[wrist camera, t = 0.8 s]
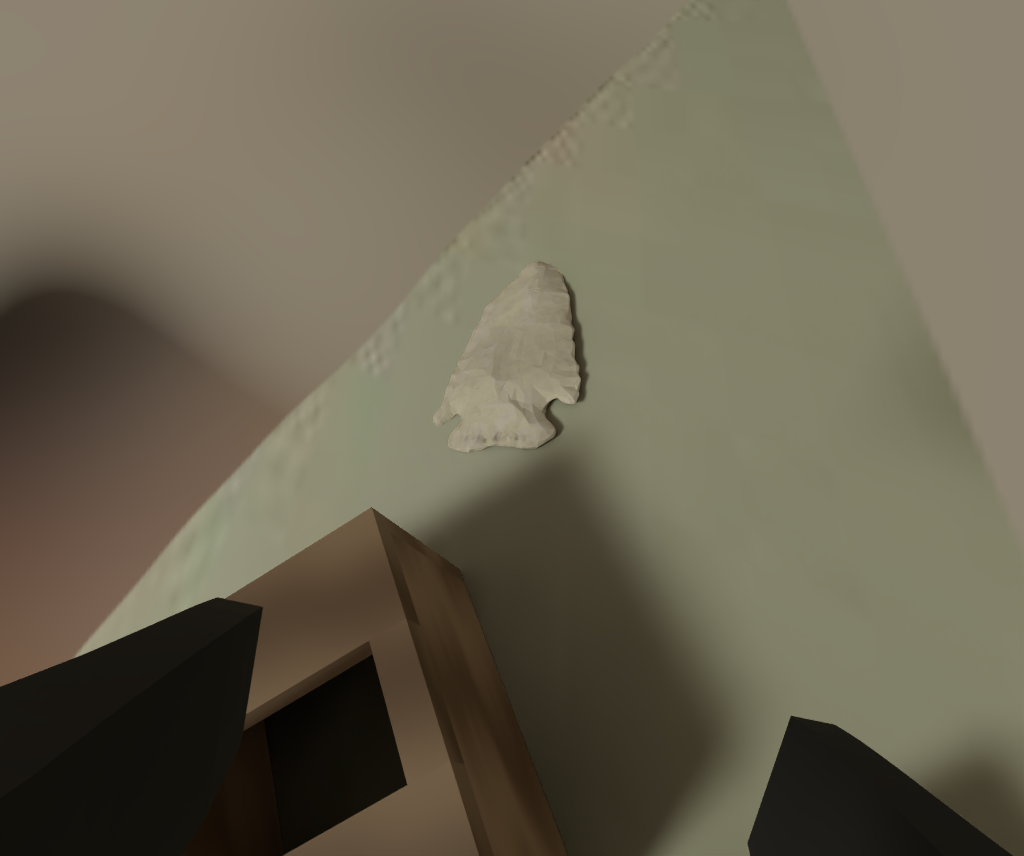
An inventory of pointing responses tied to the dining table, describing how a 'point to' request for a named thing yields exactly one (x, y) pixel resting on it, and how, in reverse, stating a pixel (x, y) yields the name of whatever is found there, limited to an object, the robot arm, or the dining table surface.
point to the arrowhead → (515, 366)
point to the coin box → (409, 699)
